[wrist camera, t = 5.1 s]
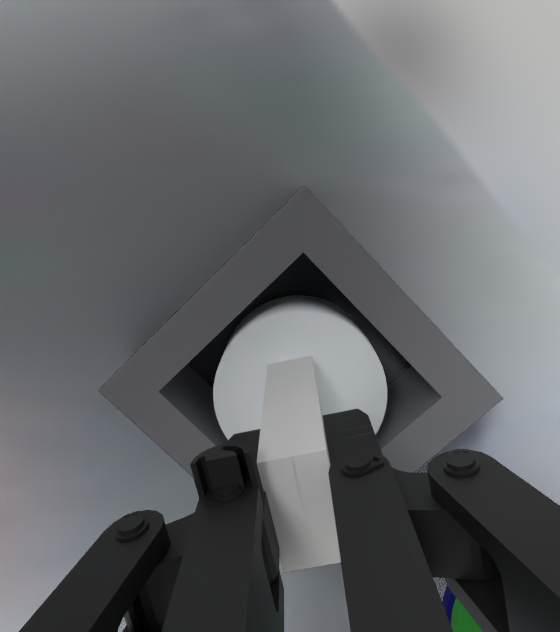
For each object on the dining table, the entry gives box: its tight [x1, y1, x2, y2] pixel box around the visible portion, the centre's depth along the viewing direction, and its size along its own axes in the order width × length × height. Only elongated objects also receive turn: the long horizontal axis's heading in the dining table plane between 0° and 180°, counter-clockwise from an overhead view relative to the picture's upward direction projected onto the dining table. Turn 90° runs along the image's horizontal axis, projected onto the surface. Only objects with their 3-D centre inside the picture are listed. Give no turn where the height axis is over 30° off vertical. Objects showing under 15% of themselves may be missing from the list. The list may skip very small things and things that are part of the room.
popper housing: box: [98, 186, 503, 478], centre depth 20 cm, size 10×10×4 cm
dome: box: [213, 296, 387, 440], centre depth 20 cm, size 6×6×3 cm
